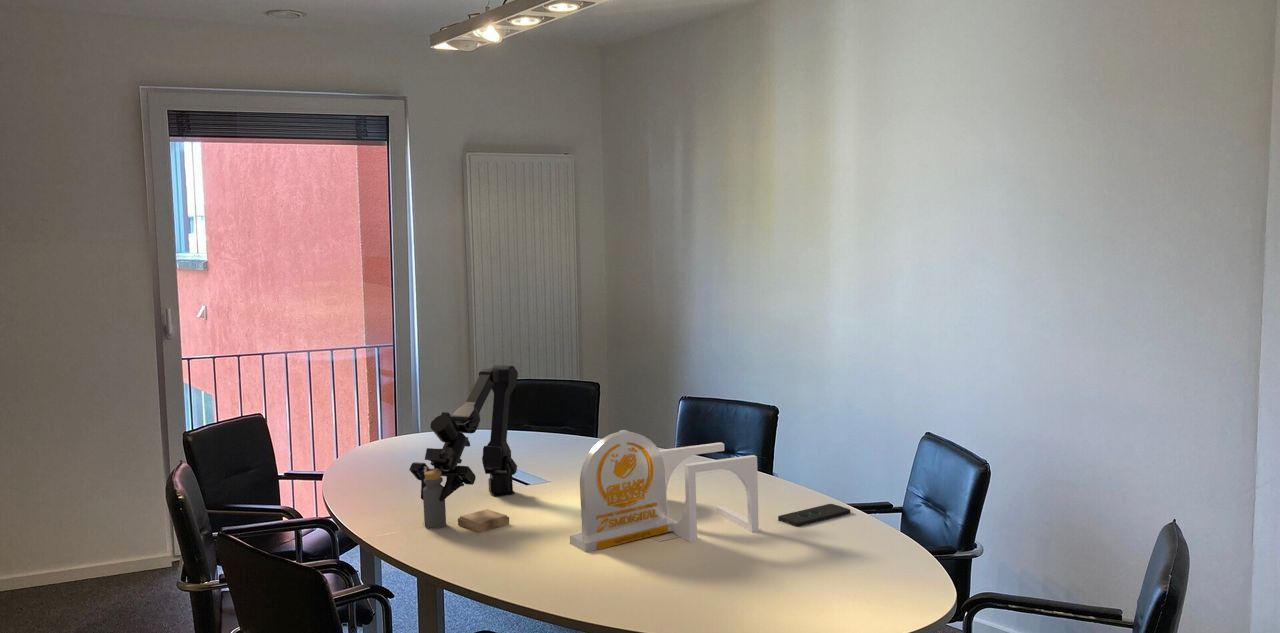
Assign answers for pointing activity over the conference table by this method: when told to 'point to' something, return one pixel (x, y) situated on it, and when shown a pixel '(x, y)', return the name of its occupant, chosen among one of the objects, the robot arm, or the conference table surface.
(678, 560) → the conference table surface
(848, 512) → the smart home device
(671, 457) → the white arched frame
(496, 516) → the plinth
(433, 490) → the bottle
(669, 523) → the award
